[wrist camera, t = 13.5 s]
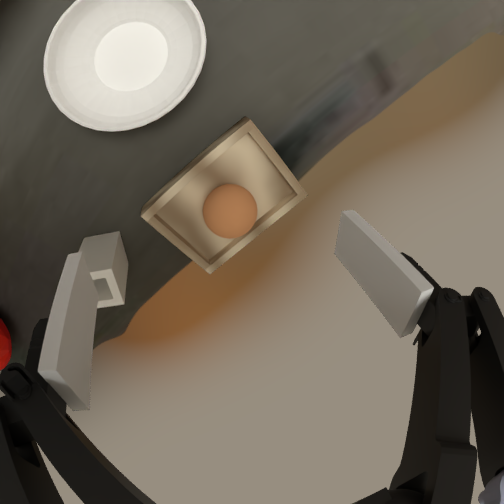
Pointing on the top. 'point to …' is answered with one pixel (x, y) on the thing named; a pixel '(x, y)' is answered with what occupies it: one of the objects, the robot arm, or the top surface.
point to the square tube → (107, 267)
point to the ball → (230, 211)
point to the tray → (212, 176)
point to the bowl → (123, 60)
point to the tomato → (4, 345)
